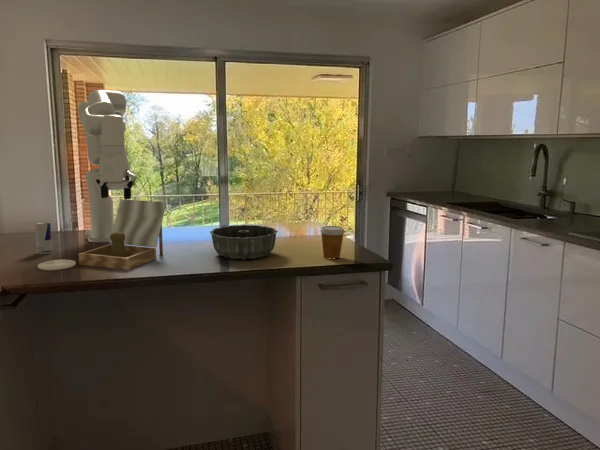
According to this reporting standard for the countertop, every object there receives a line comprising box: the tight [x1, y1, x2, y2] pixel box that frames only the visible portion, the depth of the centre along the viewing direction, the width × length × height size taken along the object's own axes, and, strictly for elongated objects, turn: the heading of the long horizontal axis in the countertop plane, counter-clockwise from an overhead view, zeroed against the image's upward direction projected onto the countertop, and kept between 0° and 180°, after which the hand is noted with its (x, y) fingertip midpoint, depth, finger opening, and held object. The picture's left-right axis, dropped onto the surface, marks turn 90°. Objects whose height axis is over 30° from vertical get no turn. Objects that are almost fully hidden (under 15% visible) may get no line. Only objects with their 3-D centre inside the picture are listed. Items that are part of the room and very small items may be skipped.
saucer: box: [37, 259, 76, 271], centre depth 171 cm, size 12×12×1 cm
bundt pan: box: [209, 224, 278, 261], centre depth 192 cm, size 26×26×10 cm
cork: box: [110, 232, 128, 258], centre depth 178 cm, size 6×6×11 cm
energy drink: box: [34, 221, 53, 255], centre depth 189 cm, size 5×5×12 cm
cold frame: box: [78, 198, 167, 271], centre depth 181 cm, size 20×25×21 cm
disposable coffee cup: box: [320, 225, 345, 260], centre depth 190 cm, size 10×10×12 cm
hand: (116, 198), depth 175 cm, fingers open, 9 cm apart
